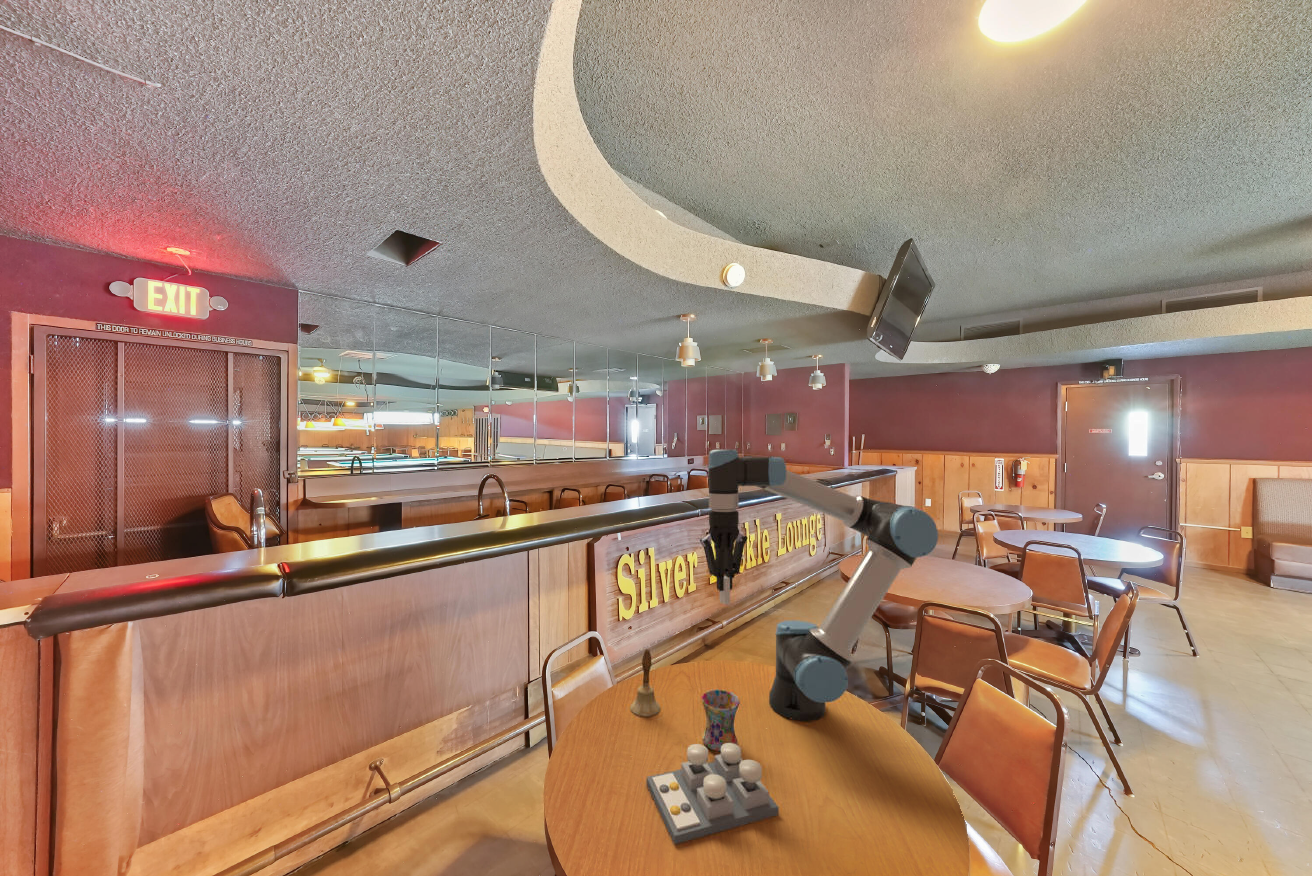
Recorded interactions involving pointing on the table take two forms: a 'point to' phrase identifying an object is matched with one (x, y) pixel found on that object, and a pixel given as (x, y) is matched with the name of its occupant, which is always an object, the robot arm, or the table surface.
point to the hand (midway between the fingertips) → (724, 602)
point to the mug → (719, 718)
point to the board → (707, 801)
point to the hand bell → (645, 692)
